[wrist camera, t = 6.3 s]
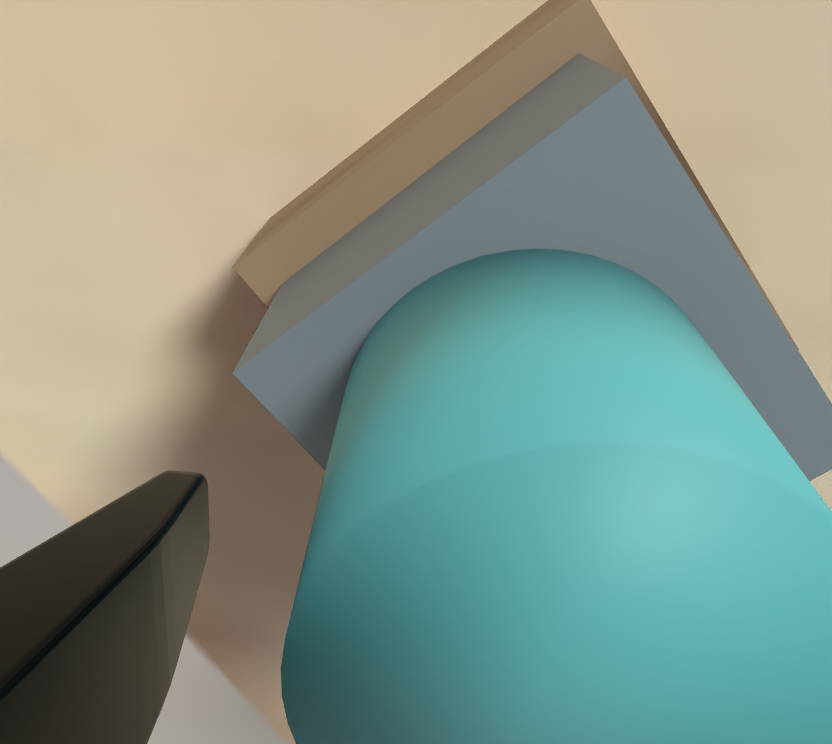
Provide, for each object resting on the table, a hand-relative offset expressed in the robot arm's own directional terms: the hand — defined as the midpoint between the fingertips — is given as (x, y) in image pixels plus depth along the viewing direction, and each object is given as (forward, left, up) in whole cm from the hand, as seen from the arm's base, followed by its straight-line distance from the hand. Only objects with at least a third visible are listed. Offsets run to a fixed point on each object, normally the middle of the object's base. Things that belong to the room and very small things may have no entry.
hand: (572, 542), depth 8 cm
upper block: (0, 0, -6) cm, 6 cm away
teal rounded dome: (0, 0, -2) cm, 2 cm away
